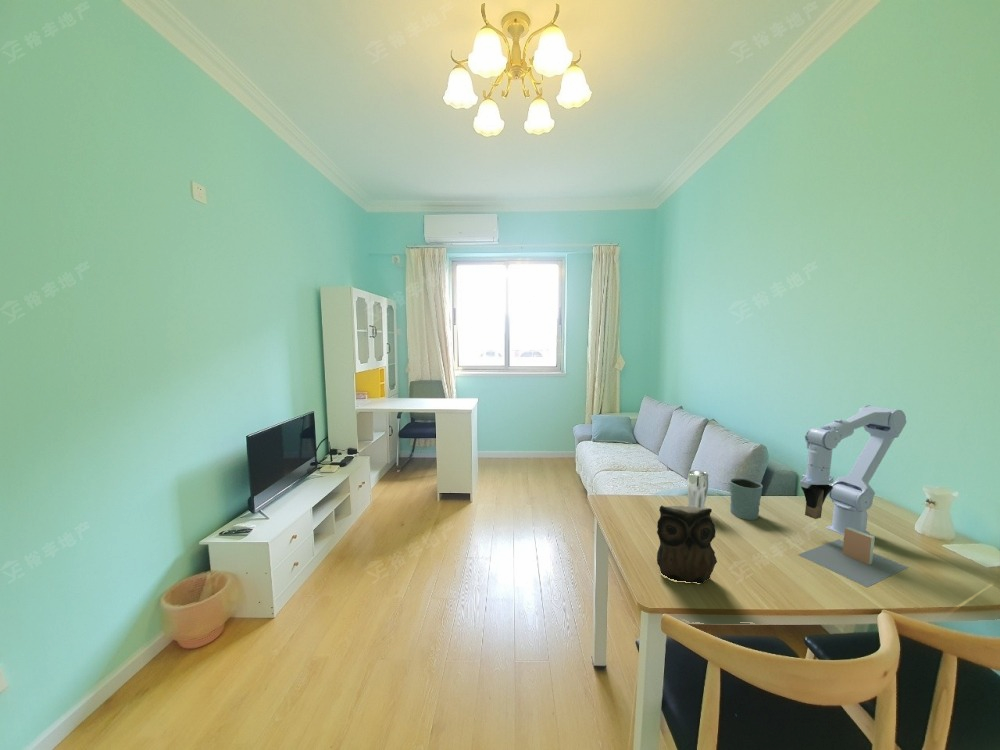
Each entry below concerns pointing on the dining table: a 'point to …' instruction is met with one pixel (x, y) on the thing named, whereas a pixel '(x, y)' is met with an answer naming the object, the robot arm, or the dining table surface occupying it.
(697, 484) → the silver upright cylinder
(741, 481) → the blue-grey cup
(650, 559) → the dining table surface
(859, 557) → the tile
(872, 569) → the mat
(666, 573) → the owl
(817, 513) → the block
